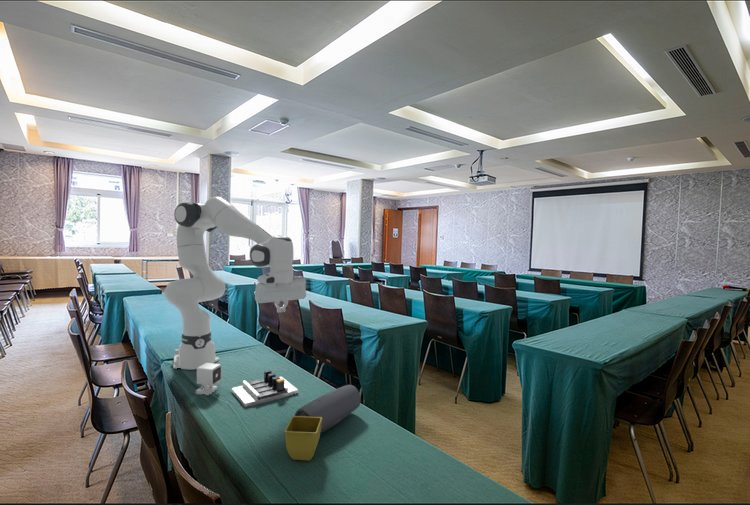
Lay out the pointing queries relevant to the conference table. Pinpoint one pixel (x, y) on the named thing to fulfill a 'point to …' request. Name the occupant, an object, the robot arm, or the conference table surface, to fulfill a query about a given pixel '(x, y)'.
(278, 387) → the handle
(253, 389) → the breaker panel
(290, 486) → the conference table surface
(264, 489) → the conference table surface
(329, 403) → the bluetooth speaker
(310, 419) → the flower pot
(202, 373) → the security camera
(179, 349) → the robot arm
